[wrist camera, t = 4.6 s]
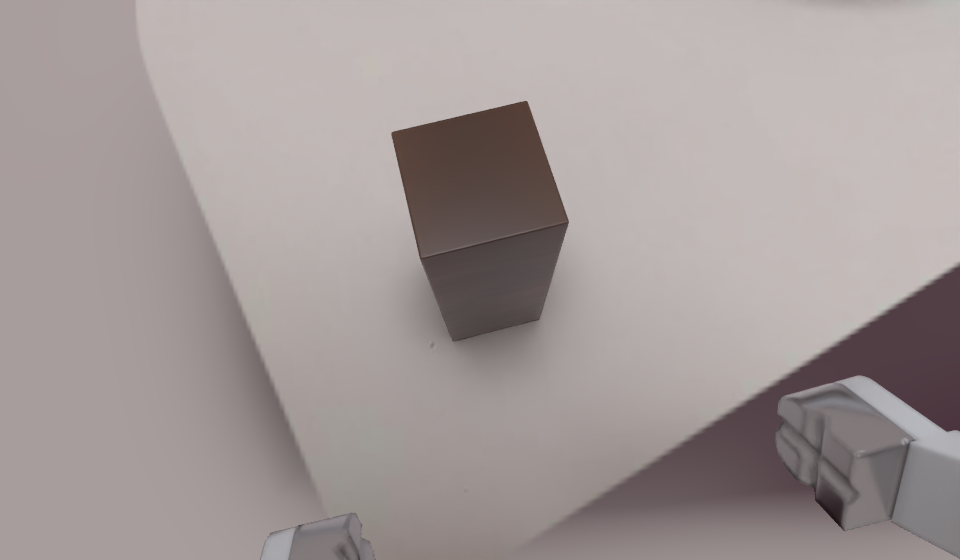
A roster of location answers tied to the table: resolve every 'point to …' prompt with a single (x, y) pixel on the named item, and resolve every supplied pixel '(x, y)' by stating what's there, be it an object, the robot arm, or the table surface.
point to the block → (483, 216)
